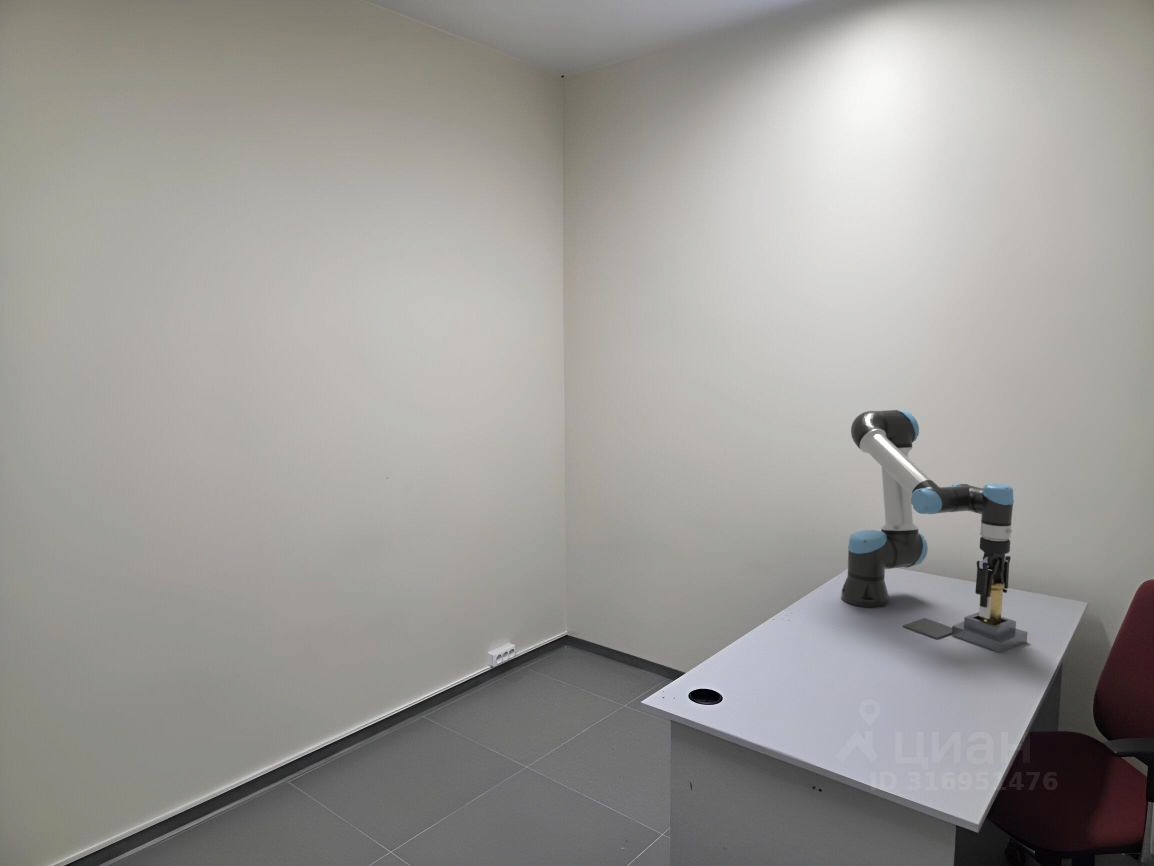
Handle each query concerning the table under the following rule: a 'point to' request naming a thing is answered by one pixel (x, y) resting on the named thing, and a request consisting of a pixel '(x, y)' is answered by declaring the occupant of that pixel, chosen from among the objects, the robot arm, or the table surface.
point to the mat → (929, 628)
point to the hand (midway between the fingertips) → (990, 614)
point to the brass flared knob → (995, 603)
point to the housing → (990, 633)
